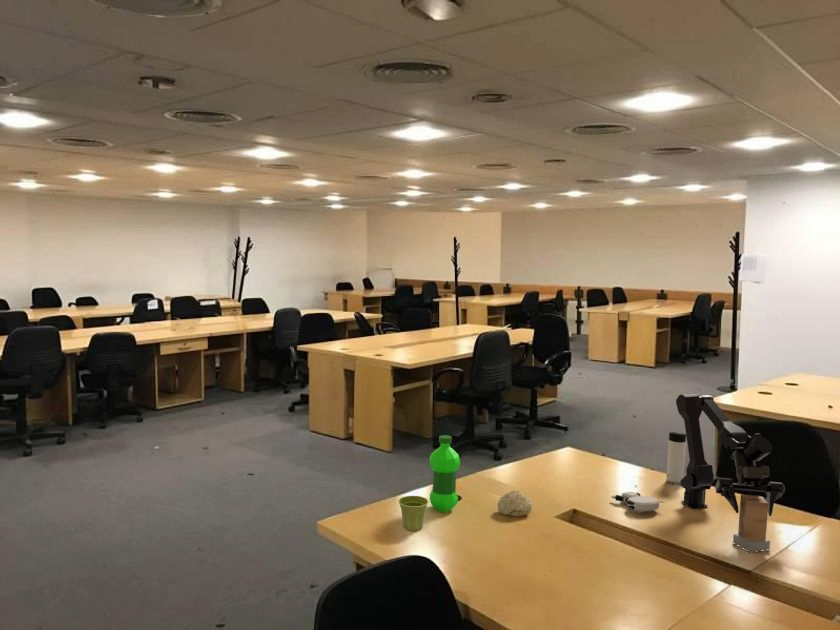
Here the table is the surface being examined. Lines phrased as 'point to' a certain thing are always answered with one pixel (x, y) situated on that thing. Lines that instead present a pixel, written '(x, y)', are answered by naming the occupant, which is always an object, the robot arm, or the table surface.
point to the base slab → (751, 544)
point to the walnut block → (753, 518)
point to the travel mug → (676, 457)
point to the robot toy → (638, 501)
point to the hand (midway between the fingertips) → (754, 514)
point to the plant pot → (413, 512)
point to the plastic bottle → (444, 475)
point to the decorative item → (514, 504)
